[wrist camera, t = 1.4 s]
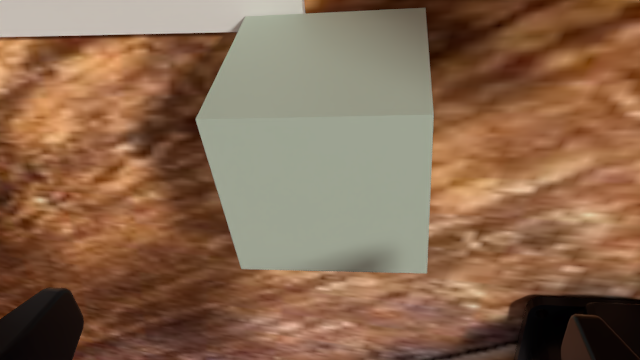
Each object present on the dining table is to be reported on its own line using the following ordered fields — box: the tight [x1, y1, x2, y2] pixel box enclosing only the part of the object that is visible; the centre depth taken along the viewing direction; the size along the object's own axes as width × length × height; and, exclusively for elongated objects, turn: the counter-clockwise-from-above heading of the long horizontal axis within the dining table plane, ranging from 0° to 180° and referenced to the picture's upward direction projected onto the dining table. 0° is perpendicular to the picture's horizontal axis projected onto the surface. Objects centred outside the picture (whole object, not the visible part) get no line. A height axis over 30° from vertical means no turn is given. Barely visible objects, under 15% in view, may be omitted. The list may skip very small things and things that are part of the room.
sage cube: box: [195, 8, 434, 273], centre depth 15 cm, size 5×5×5 cm
